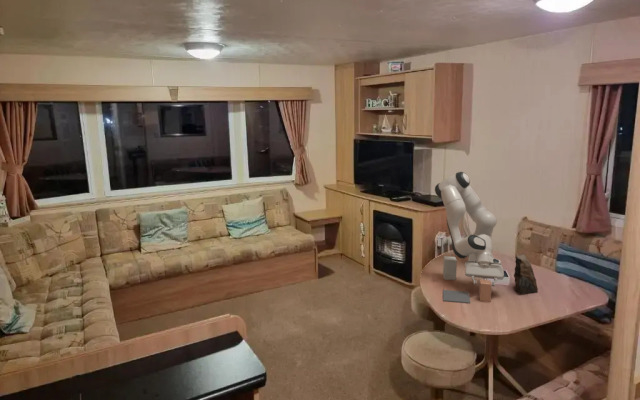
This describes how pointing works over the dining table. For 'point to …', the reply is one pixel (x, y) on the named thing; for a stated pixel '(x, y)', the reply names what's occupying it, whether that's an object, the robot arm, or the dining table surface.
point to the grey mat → (456, 296)
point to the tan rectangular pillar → (485, 290)
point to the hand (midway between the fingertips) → (484, 284)
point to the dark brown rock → (524, 276)
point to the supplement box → (449, 268)
